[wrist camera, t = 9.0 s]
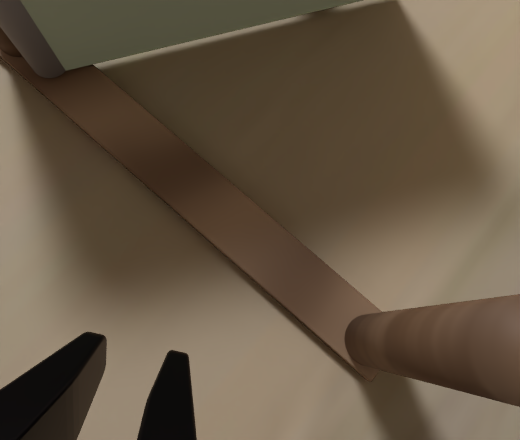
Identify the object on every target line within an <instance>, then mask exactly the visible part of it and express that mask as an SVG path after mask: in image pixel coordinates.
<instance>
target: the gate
mask: <svg viewBox="0 0 520 440" xmlns="http://www.w3.org/2000/svg"><path fill="white" fill-rule="evenodd" d="M358 1H362V0H0V27H1V29H2V30H3V31H4V33H5V34H6V35H7V36H8V38H9V39H10V40H11V42H12V43H13V44H14V46H15V47H16V48H17V49H18V51H19V52H20V53H21V55H22V56H23V57H24V59H25V60H26V61H27V62H28V64H29V65H30V66H31V68H32V69H33V70H34V72H35V73H36V74H37V75H39V76H41V77H44V78H55V77H58V76H60V75H62V74H63V73H64V72H65V71H67V70H71V69H75V68H79V67H84V66H88V65H92V64H96V63H101V62H105V61H109V60H113V59H117V58H122V57H126V56H130V55H134V54H139V53H143V52H147V51H151V50H155V49H160V48H164V47H168V46H172V45H177V44H181V43H185V42H189V41H193V40H198V39H202V38H206V37H210V36H215V35H219V34H223V33H227V32H231V31H236V30H240V29H244V28H248V27H253V26H257V25H261V24H265V23H269V22H274V21H278V20H282V19H286V18H291V17H295V16H299V15H303V14H307V13H312V12H316V11H320V10H324V9H329V8H333V7H337V6H341V5H345V4H350V3H354V2H358Z"/></svg>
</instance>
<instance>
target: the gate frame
mask: <svg viewBox="0 0 520 440" xmlns="http://www.w3.org/2000/svg"><path fill="white" fill-rule="evenodd" d="M0 57H1V58H2V59H3V60H4V61H5V62H7V63H8V64H9V65H10V66H11V67H12V68H13V69H15V70H16V71H17V72H18V73H19V74H20V75H21V76H22V77H24V78H25V79H26V80H27V81H28V82H29V83H30V84H32V85H33V86H34V87H35V88H36V89H37V90H38V91H39V92H41V93H42V94H43V95H44V96H45V97H46V98H47V99H49V100H50V101H51V102H52V103H53V104H54V105H55V106H56V107H58V108H59V109H60V110H61V111H62V112H63V113H64V114H66V115H67V116H68V117H69V118H70V119H71V120H72V121H73V122H75V123H76V124H77V125H78V126H79V127H80V128H81V129H83V130H84V131H85V132H86V133H87V134H88V135H89V136H91V137H92V138H93V139H94V140H95V141H96V142H97V143H98V144H100V145H101V146H102V147H103V148H104V149H105V150H106V151H108V152H109V153H110V154H111V155H112V156H113V157H114V158H115V159H117V160H118V161H119V162H120V163H121V164H122V165H123V166H125V167H126V168H127V169H128V170H129V171H130V172H131V173H132V174H134V175H135V176H136V177H137V178H138V179H139V180H140V181H142V182H143V183H144V184H145V185H146V186H147V187H148V188H149V189H151V190H152V191H153V192H154V193H155V194H156V195H157V196H159V197H160V198H161V199H162V200H163V201H164V202H165V203H166V204H168V205H169V206H170V207H171V208H172V209H173V210H174V211H176V212H177V213H178V214H179V215H180V216H181V217H182V218H183V219H185V220H186V221H187V222H188V223H189V224H190V225H191V226H193V227H194V228H195V229H196V230H197V231H198V232H199V233H200V234H202V235H203V236H204V237H205V238H206V239H207V240H208V241H210V242H211V243H212V244H213V245H214V246H215V247H216V248H218V249H219V250H220V251H221V252H222V253H223V254H224V255H225V256H227V257H228V258H229V259H230V260H231V261H232V262H233V263H235V264H236V265H237V266H238V267H239V268H240V269H241V270H242V271H244V272H245V273H246V274H247V275H248V276H249V277H250V278H252V279H253V280H254V281H255V282H256V283H257V284H258V285H259V286H261V287H262V288H263V289H264V290H265V291H266V292H267V293H269V294H270V295H271V296H272V297H273V298H274V299H275V300H276V301H278V302H279V303H280V304H281V305H282V306H283V307H284V308H286V309H287V310H288V311H289V312H290V313H291V314H292V315H293V316H295V317H296V318H297V319H298V320H299V321H300V322H301V323H303V324H304V325H305V326H306V327H307V328H308V329H309V330H310V331H312V332H313V333H314V334H315V335H316V336H317V337H318V338H320V339H321V340H322V341H323V342H324V343H325V344H326V345H327V346H329V347H330V348H331V349H332V350H333V351H334V352H335V353H337V354H338V355H339V356H340V357H341V358H342V359H343V360H345V361H346V362H347V363H348V364H349V365H350V366H351V367H352V368H354V369H355V370H356V371H357V372H358V373H359V374H360V375H362V376H363V377H364V378H365V379H366V380H367V381H370V382H371V381H372V380H373V379H374V377H375V376H376V375H377V373H378V372H379V371H380V370H382V371H386V372H390V373H394V374H397V375H401V376H405V377H409V378H413V379H416V380H420V381H424V382H428V383H432V384H435V385H439V386H443V387H447V388H451V389H454V390H458V391H462V392H466V393H470V394H473V395H477V396H481V397H485V398H488V399H492V400H496V401H500V402H504V403H507V404H511V405H515V406H519V407H520V294H518V295H511V296H503V297H495V298H488V299H480V300H472V301H464V302H457V303H449V304H441V305H434V306H426V307H418V308H411V309H403V310H395V311H387V312H382V311H380V310H379V309H378V308H377V307H376V306H375V305H373V304H372V303H371V302H370V301H369V300H368V299H366V298H365V297H364V296H363V295H362V294H361V293H359V292H358V291H357V290H356V289H355V288H354V287H352V286H351V285H350V284H349V283H348V282H347V281H345V280H344V279H343V278H342V277H341V276H340V275H338V274H337V273H336V272H335V271H334V270H332V269H331V268H330V267H329V266H328V265H327V264H325V263H324V262H323V261H322V260H321V259H320V258H318V257H317V256H316V255H315V254H314V253H313V252H311V251H310V250H309V249H308V248H307V247H306V246H304V245H303V244H302V243H301V242H300V241H299V240H297V239H296V238H295V237H294V236H293V235H292V234H290V233H289V232H288V231H287V230H286V229H285V228H283V227H282V226H281V225H280V224H279V223H278V222H276V221H275V220H274V219H273V218H272V217H270V216H269V215H268V214H267V213H266V212H265V211H263V210H262V209H261V208H260V207H259V206H258V205H256V204H255V203H254V202H253V201H252V200H251V199H249V198H248V197H247V196H246V195H245V194H244V193H242V192H241V191H240V190H239V189H238V188H237V187H235V186H234V185H233V184H232V183H231V182H230V181H228V180H227V179H226V178H225V177H224V176H223V175H221V174H220V173H219V172H218V171H217V170H216V169H214V168H213V167H212V166H211V165H210V164H209V163H207V162H206V161H205V160H204V159H203V158H201V157H200V156H199V155H198V154H197V153H196V152H194V151H193V150H192V149H191V148H190V147H189V146H187V145H186V144H185V143H184V142H183V141H182V140H180V139H179V138H178V137H177V136H176V135H175V134H173V133H172V132H171V131H170V130H169V129H168V128H166V127H165V126H164V125H163V124H162V123H161V122H159V121H158V120H157V119H156V118H155V117H154V116H152V115H151V114H150V113H149V112H148V111H147V110H145V109H144V108H143V107H142V106H141V105H139V104H138V103H137V102H136V101H135V100H134V99H132V98H131V97H130V96H129V95H128V94H127V93H125V92H124V91H123V90H122V89H121V88H120V87H118V86H117V85H116V84H115V83H114V82H113V81H111V80H110V79H109V78H108V77H107V76H106V75H104V74H103V73H102V72H101V71H100V70H99V69H97V68H96V67H95V66H94V65H93V64H92V65H88V66H84V67H79V68H75V69H71V70H67V71H65V72H64V73H63V74H62V75H60V76H58V77H55V78H44V77H41V76H39V75H37V74H36V73H35V72H34V70H33V69H32V68H31V66H30V65H29V64H28V62H27V61H26V60H25V59H24V57H23V56H22V55H21V53H20V52H19V51H18V49H17V48H16V47H15V46H14V44H13V43H12V42H11V40H10V39H9V38H8V36H7V35H6V34H5V33H4V31H3V30H2V29H1V27H0Z"/></svg>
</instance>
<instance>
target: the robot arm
mask: <svg viewBox="0 0 520 440" xmlns="http://www.w3.org/2000/svg"><path fill="white" fill-rule="evenodd" d="M106 345H107V340H106V337H105V336H104V335H101V334H97V333H92V332H85V333H83V334H82V335H80V336H79V337H77V338H76V339H74V340H73V341H71V342H70V343H68V344H67V345H65V346H64V347H62V348H61V349H59V350H58V351H56V352H55V353H54V354H52V355H51V356H49V357H48V358H46V359H45V360H43V361H42V362H40V363H39V364H37V365H36V366H34V367H33V368H31V369H30V370H28V371H27V372H25V373H24V374H23V375H21V376H20V377H18V378H17V379H15V380H14V381H12V382H11V383H9V384H8V385H6V386H5V387H3V388H2V389H0V440H77V437H78V435H79V433H80V430H81V428H82V425H83V423H84V420H85V418H86V415H87V413H88V411H89V408H90V406H91V403H92V401H93V398H94V396H95V393H96V391H97V388H98V386H99V383H100V381H101V379H102V376H103V373H104V370H105V366H106ZM137 440H197V438H196V427H195V417H194V407H193V397H192V386H191V376H190V366H189V357H188V354H186V353H183V352H178V351H174V350H170V351H169V352H168V353H167V355H166V358H165V360H164V362H163V364H162V367H161V369H160V371H159V373H158V376H157V378H156V380H155V382H154V385H153V387H152V389H151V392H150V394H149V397H148V399H147V402H146V406H145V409H144V413H143V417H142V422H141V426H140V430H139V434H138V438H137Z"/></svg>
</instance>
